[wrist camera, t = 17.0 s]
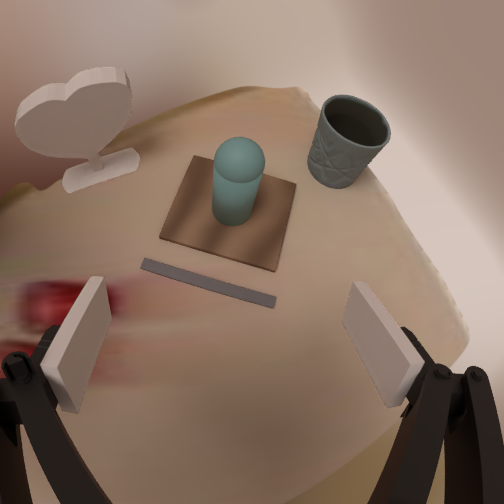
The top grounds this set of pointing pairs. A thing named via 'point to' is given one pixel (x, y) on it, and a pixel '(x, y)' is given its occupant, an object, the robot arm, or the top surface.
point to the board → (229, 237)
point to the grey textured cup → (346, 140)
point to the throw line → (208, 283)
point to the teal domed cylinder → (236, 180)
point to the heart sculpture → (80, 124)
